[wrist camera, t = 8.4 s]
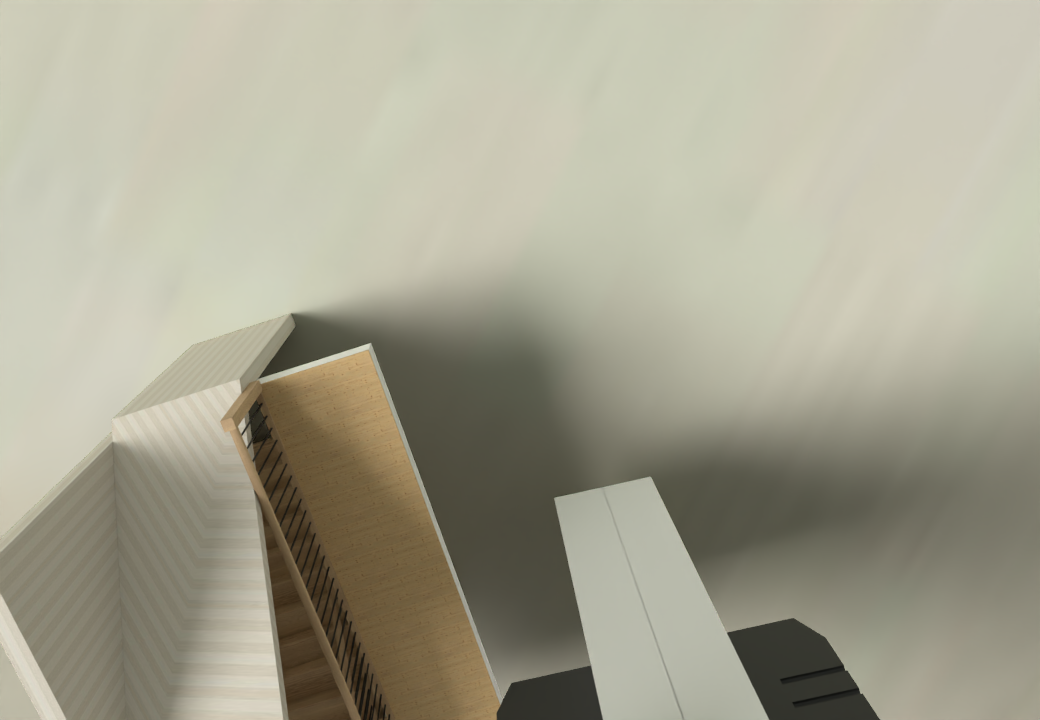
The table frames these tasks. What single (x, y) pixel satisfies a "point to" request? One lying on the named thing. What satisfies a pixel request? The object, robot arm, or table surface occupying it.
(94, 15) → the table surface
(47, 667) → the architectural model
